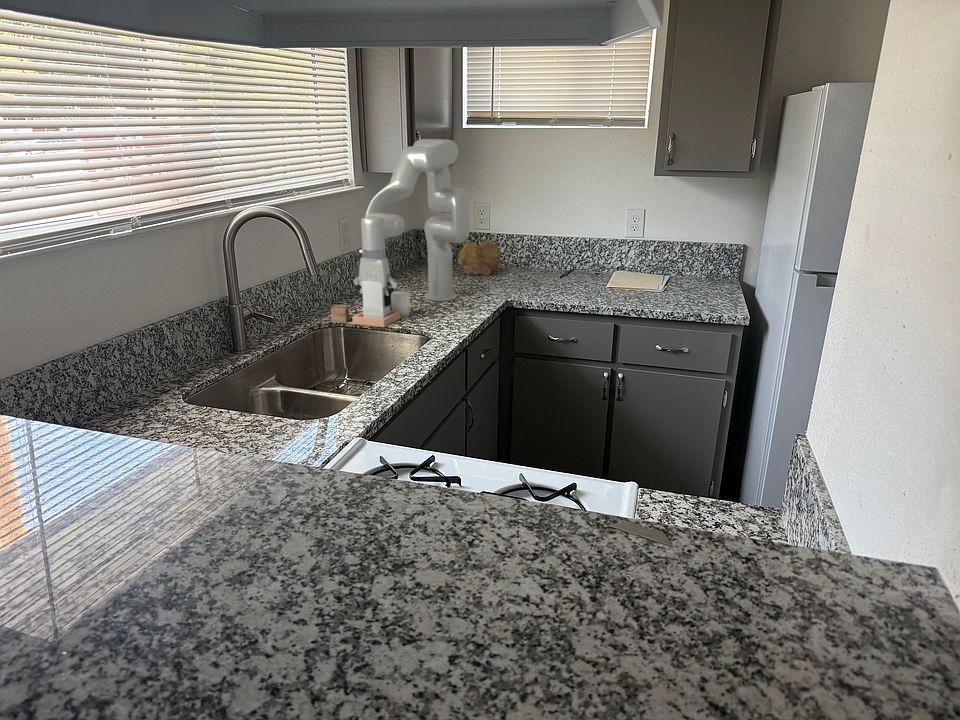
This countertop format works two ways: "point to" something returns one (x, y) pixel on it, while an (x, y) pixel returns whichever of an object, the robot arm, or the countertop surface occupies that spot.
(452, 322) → the countertop surface
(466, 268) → the rough brown rock
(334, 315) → the walnut block
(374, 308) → the supplement box
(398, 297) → the white rounded lump
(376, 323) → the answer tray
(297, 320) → the countertop surface
